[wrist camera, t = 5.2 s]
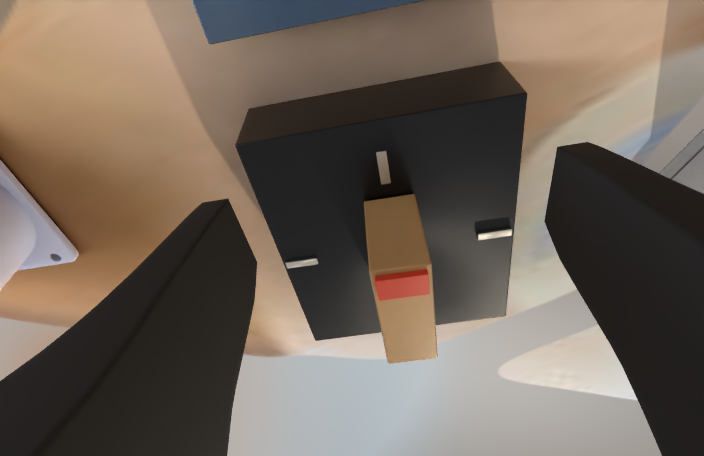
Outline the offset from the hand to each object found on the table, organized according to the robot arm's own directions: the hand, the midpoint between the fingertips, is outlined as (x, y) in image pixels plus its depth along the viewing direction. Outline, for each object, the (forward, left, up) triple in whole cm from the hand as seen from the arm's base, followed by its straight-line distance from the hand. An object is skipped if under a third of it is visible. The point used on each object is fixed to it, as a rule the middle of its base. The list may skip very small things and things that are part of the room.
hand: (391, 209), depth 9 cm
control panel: (0, -7, -9) cm, 11 cm away
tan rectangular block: (0, -6, -6) cm, 9 cm away
